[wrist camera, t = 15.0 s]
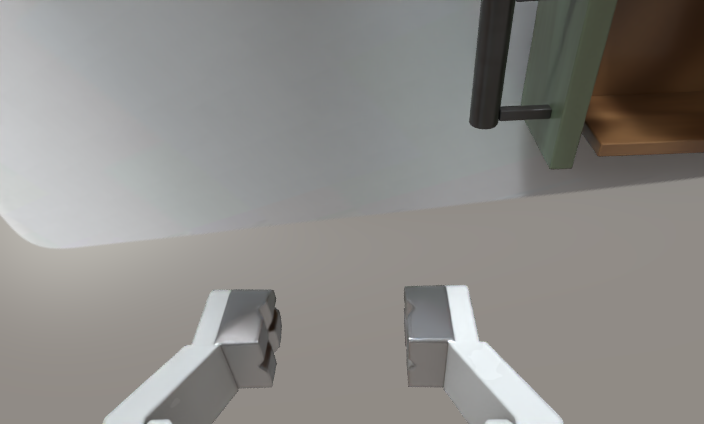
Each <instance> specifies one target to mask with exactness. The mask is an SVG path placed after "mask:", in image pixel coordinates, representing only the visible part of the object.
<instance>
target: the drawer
mask: <svg viewBox="0 0 704 424" xmlns="http://www.w3.org/2000/svg"><path fill="white" fill-rule="evenodd" d="M516 1H517V2H524V1H539V2H538V8H537V13H536V19H535V25H534V31H533V37H532V42H531V48H530V54H529V60H528V66H527V71H526V77H525V83H524V89H523V95H522V100H521V106H502V107H500V105H501V98H502V91H503V84H504V77H505V70H506V63H507V56H508V49H509V42H510V35H511V28H512V21H513V14H514V7H515V0H481V7H480V17H479V28H478V38H477V48H476V58H475V68H474V78H473V88H472V98H471V108H470V118H469V123H470V124H471V126H473V127H475V128H478V129H491V128H494V127H495V126H496V125H497V124H498V119H499V121H511V120H524V121H525V123H526V124H527V126H528V128H529V130H530V132H531V134H532V136H533V138H534V140H535V142H536V144H537V146H538V148H539V149H540V151H541V153H542V155H543V157H544V159H545V161H546V163H547V165H548V167H549V169H571V168H572V166H573V162H574V159H575V155H576V151H577V148H578V144H579V140H580V137H581V133H582V134H583V135H584V137H585V138H586V140H587V141H588V143H589V144H590V146H591V147H592V149H593V150H594V151H595V153H596V154H597V156H599V157H601V156H627V155H652V154H678V153H703V152H704V0H516Z"/></svg>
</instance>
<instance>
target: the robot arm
mask: <svg viewBox="0 0 704 424" xmlns="http://www.w3.org/2000/svg"><path fill="white" fill-rule="evenodd" d="M404 301H405V308H404V324H405V345H406V347H407V375H408V387H444V390H445V392H446V393H447V395H448V396H449V397H450V399H451V400H452V402H453V403H454V404H455V406H456V407H457V409H458V410H459V411H460V413H461V414H462V416H463V417H464V418H465V420H466V421H467V423H468V424H563V421H562V418H561V417H560V416H559V415H558V414H557V413H556V412H555V411H554V410H553V409H552V408H551V407H550V406H549V405H548V404H547V403H546V402H545V401H544V400H543V399H542V398H541V397H540V396H539V395H538V394H537V393H536V392H535V391H534V390H533V389H532V388H531V387H530V386H529V385H528V384H527V383H526V382H525V381H524V380H523V379H522V378H521V377H520V376H519V375H518V374H517V373H516V372H515V371H514V369H512V367H511V366H510V365H509V364H508V363H507V362H506V361H505V360H504V359H503V358H502V357H501V356H500V355H499V354H498V353H497V352H496V351H495V350H494V349H493V348H492V347H491V346H490V345H489V344H488V343H487V342H480V340H479V336H478V331H477V326H476V322H475V317H474V313H473V308H472V303H471V298H470V293H469V289H468V287H467V286H466V285H447V286H444V285H436V286H405V288H404ZM275 302H276V297H275V293H274V291H273V290H213V291H212V292H211V293H210V295H209V296H208V299H207V302H206V305H205V308H204V310H203V313H202V316H201V319H200V322H199V325H198V327H197V330H196V333H195V336H194V339H193V341H192V345H185V346H184V347H183V348H182V349H181V350H180V351H179V352H177V354H175V355H174V356H173V357H172V358H171V359H170V360H168V361H167V362H166V363H165V364H164V365H163V366H162V367H161V368H160V369H159V370H157V371H156V372H155V373H154V374H153V375H152V376H151V377H150V378H149V379H147V380H146V381H145V382H144V383H143V384H142V385H141V386H140V387H139V388H137V389H136V390H135V391H134V392H133V393H132V394H131V395H130V396H129V397H127V398H126V399H125V400H124V401H123V402H122V403H121V404H120V405H119V406H117V408H115V409H114V410H113V411H112V412H111V413H110V414H109V415H107V416H106V417H105V419H104V421H103V423H102V424H212V423H213V422H214V421H215V419H216V418H217V417H218V416H219V415H220V413H221V412H222V411H223V410H224V408H225V407H226V405H227V404H228V403H229V402H230V401H231V399H232V398H233V397H234V396H235V394H236V393H237V392H238V388H263V387H264V388H266V387H272V386H273V380H274V375H275V369H276V364H277V363H276V359H275V355H274V352H275V351H276V350H277V349H278V348H279V347H280V341H281V328H282V325H281V316H280V312H279V310H277V309H276V308H275Z"/></svg>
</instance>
